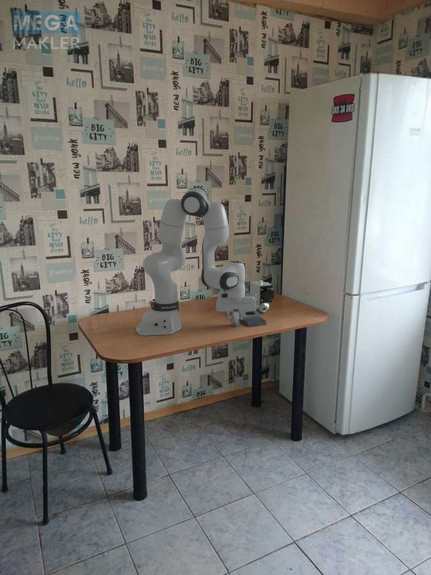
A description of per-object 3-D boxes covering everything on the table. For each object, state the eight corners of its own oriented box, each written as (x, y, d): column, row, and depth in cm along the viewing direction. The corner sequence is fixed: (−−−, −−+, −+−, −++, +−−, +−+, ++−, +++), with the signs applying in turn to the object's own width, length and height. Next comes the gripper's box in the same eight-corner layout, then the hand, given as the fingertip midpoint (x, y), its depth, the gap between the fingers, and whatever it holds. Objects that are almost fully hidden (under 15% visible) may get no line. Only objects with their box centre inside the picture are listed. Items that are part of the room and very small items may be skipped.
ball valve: (275, 314, 228) (276, 282, 224) (262, 316, 225) (262, 284, 221) (260, 305, 244) (261, 276, 240) (247, 307, 241) (247, 277, 237)
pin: (233, 327, 208) (233, 310, 206) (230, 324, 212) (230, 307, 210) (241, 326, 209) (241, 309, 207) (238, 323, 214) (238, 306, 211)
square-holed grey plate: (247, 326, 208) (248, 319, 208) (234, 315, 227) (234, 308, 226) (266, 324, 211) (266, 318, 210) (251, 313, 230) (251, 307, 229)
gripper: (256, 291, 210) (255, 317, 213) (215, 291, 210) (215, 317, 213) (257, 294, 204) (257, 321, 207) (216, 294, 203) (216, 321, 207)
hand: (235, 319), depth 210 cm, fingers closed on pin, 4 cm apart
